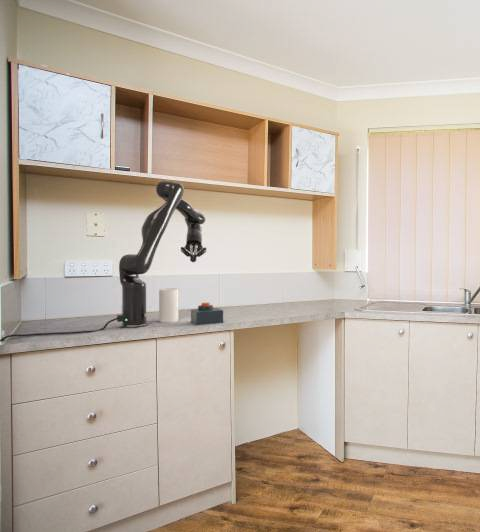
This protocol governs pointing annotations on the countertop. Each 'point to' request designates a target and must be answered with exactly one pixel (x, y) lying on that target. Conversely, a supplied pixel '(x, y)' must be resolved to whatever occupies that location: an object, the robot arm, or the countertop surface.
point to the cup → (168, 305)
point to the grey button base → (206, 315)
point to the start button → (205, 304)
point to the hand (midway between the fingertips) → (193, 261)
